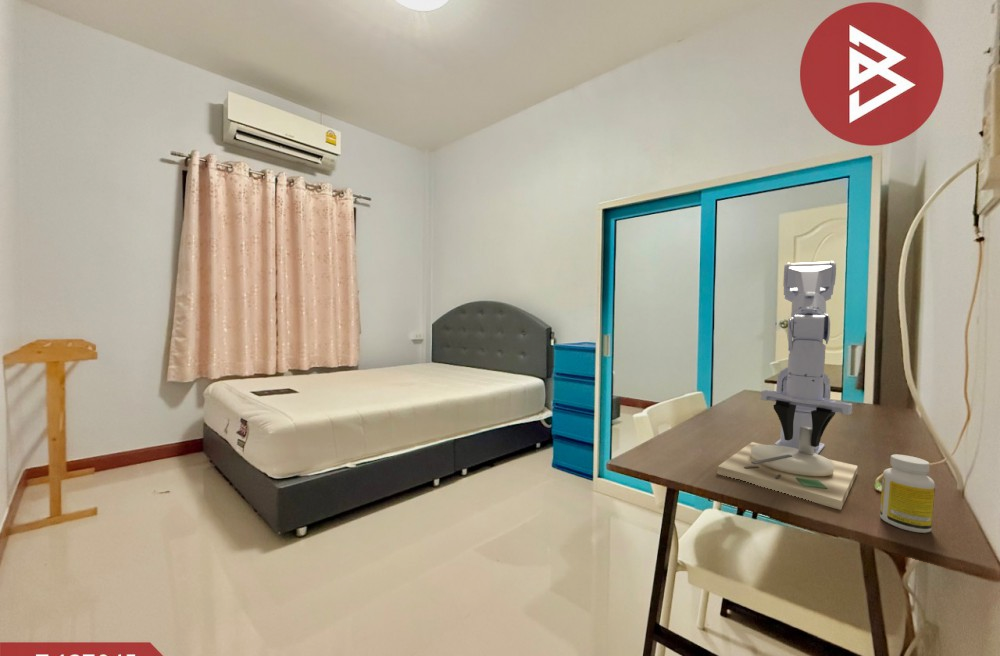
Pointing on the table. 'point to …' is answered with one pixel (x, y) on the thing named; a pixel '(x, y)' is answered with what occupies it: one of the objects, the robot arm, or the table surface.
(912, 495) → the supplement bottle
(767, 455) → the tuning knob
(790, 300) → the robot arm
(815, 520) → the table surface
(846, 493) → the dial board
